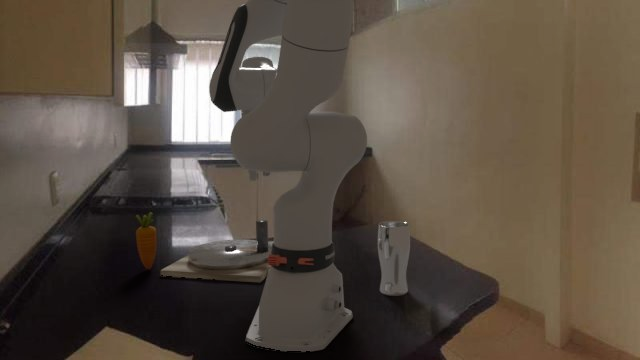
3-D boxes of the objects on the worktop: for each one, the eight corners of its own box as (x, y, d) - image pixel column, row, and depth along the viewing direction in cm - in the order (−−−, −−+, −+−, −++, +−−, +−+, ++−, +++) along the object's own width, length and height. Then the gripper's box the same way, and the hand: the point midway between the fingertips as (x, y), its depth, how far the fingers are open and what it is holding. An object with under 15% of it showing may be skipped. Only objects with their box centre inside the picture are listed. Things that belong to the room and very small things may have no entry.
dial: (255, 272, 112) (253, 231, 111) (172, 267, 117) (169, 227, 116) (282, 248, 134) (281, 213, 132) (211, 244, 139) (210, 211, 137)
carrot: (134, 272, 120) (130, 214, 118) (146, 266, 124) (143, 210, 123) (150, 273, 118) (147, 215, 116) (162, 267, 123) (159, 211, 121)
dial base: (260, 282, 110) (260, 275, 110) (160, 276, 116) (160, 269, 116) (291, 252, 135) (291, 246, 135) (208, 248, 141) (208, 243, 141)
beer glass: (409, 297, 99) (410, 228, 97) (376, 295, 100) (376, 227, 99) (410, 286, 106) (410, 221, 104) (378, 284, 107) (378, 220, 105)
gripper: (256, 124, 108) (257, 183, 110) (283, 123, 128) (284, 173, 130) (230, 124, 110) (232, 183, 112) (261, 123, 130) (262, 173, 131)
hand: (260, 177), depth 121 cm, fingers open, 8 cm apart
